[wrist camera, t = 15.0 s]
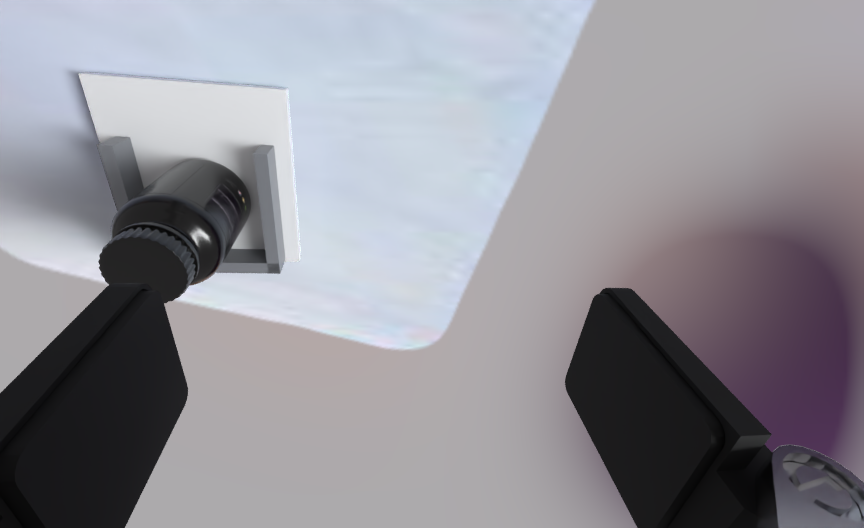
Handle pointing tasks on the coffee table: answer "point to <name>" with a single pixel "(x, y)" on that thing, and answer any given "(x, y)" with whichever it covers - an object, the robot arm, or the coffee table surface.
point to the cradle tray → (204, 150)
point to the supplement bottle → (177, 228)
